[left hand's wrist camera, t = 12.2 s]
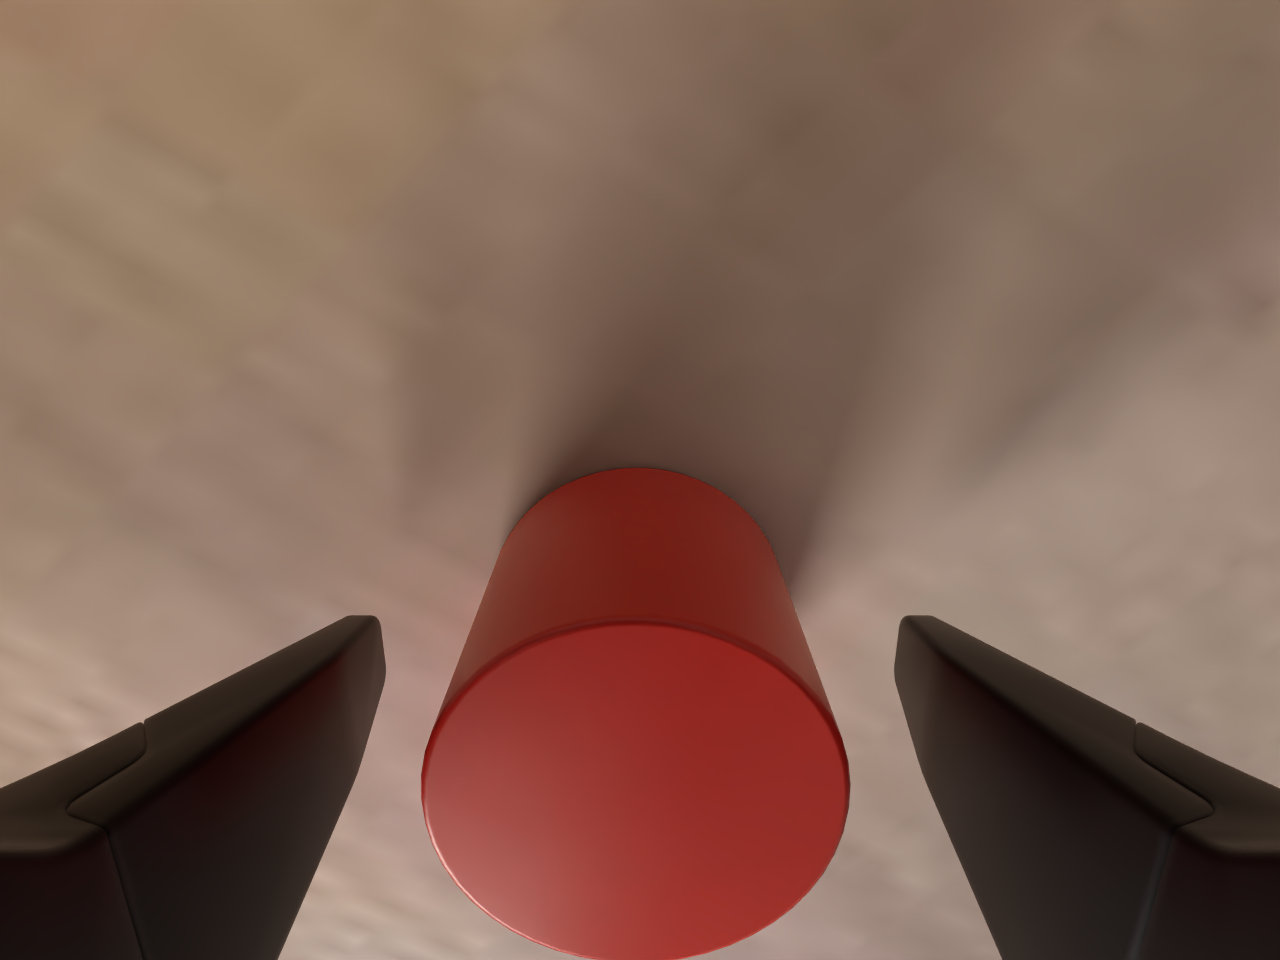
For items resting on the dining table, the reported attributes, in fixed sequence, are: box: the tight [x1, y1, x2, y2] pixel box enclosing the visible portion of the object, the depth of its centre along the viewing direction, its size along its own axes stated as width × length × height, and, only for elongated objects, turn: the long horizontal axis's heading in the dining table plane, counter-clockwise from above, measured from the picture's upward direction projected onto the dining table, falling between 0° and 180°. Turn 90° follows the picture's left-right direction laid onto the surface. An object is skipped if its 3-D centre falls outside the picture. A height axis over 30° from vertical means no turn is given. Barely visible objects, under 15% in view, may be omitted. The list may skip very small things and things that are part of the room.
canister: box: [421, 468, 850, 960], centre depth 10 cm, size 4×4×4 cm
